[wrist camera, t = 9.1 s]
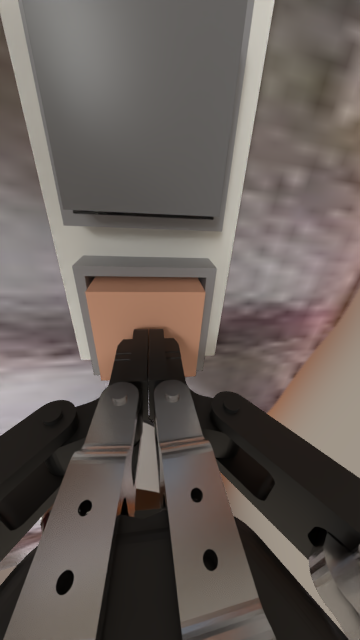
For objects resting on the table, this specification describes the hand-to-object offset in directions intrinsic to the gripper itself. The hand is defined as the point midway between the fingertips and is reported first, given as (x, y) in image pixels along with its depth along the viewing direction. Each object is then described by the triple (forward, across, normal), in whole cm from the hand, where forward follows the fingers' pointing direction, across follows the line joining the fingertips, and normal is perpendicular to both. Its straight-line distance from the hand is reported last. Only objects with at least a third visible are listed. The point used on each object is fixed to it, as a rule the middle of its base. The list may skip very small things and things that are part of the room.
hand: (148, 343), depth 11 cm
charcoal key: (+2, 0, -9) cm, 9 cm away
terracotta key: (+3, 0, 0) cm, 3 cm away
